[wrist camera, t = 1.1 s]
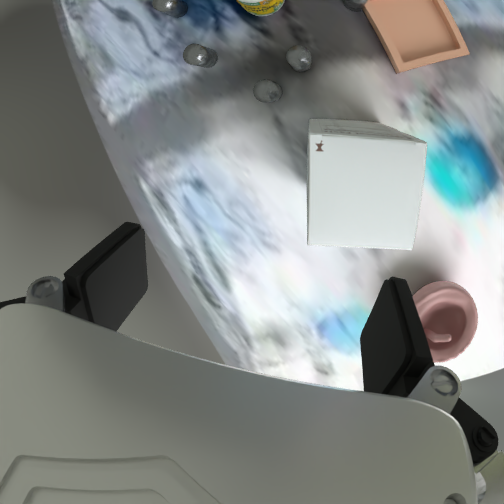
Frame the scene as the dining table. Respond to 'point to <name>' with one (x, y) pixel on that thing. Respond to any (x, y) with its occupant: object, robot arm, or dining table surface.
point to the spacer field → (201, 56)
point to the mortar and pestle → (446, 318)
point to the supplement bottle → (261, 6)
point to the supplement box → (363, 184)
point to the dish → (415, 32)
